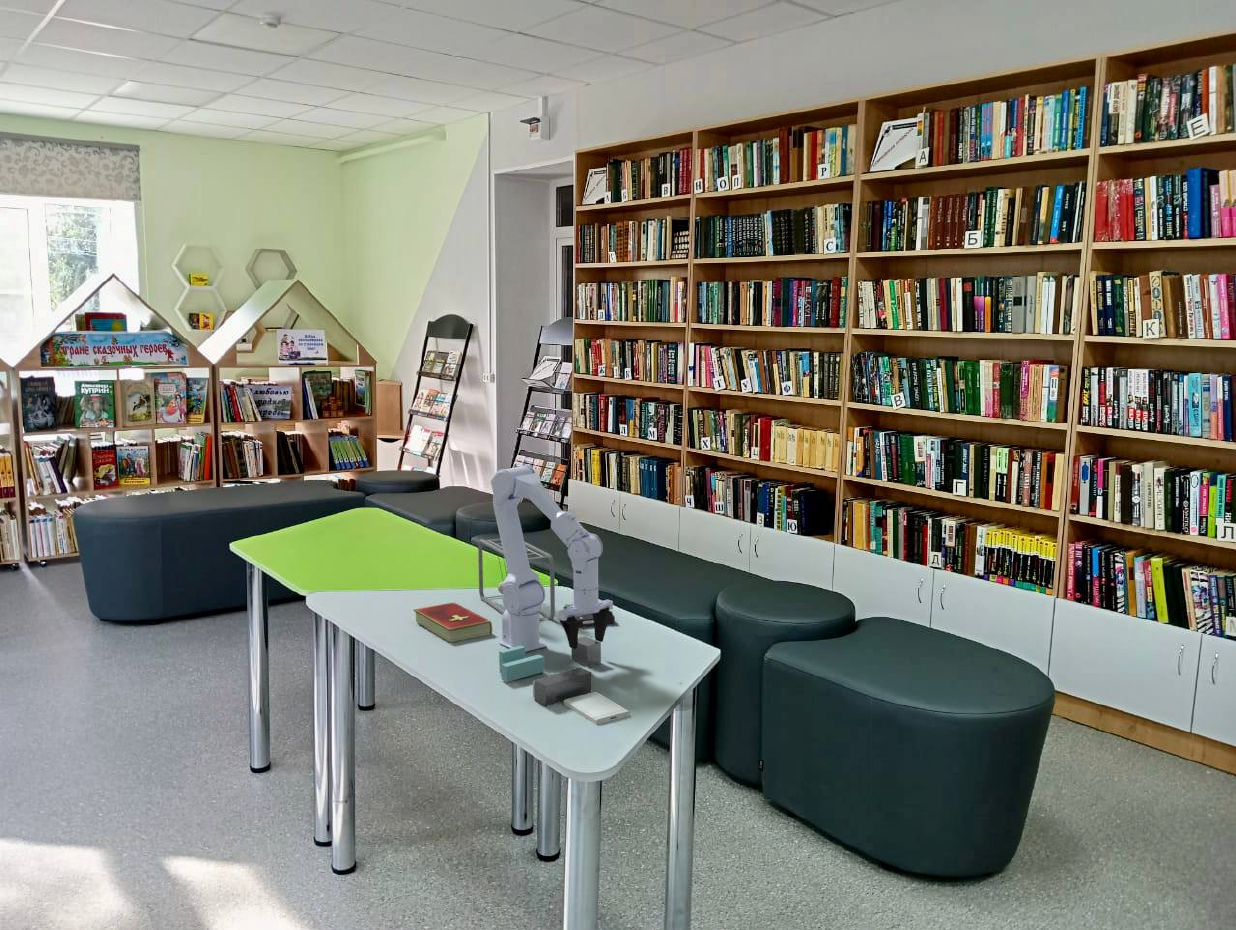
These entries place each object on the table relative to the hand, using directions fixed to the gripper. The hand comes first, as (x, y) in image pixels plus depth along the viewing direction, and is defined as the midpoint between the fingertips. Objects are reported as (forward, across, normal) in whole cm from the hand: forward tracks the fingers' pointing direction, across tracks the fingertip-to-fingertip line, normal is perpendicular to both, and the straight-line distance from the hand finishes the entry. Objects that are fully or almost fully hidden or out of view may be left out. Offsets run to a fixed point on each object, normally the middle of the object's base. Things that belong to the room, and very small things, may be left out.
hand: (586, 644), depth 226 cm
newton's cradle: (+4, +11, +46) cm, 47 cm away
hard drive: (+5, -16, -24) cm, 29 cm away
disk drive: (+5, +21, +26) cm, 34 cm away
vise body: (+4, -17, -12) cm, 21 cm away
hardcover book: (+5, -11, +42) cm, 44 cm away
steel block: (+4, 0, 0) cm, 4 cm away
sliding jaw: (+4, -17, +3) cm, 18 cm away
